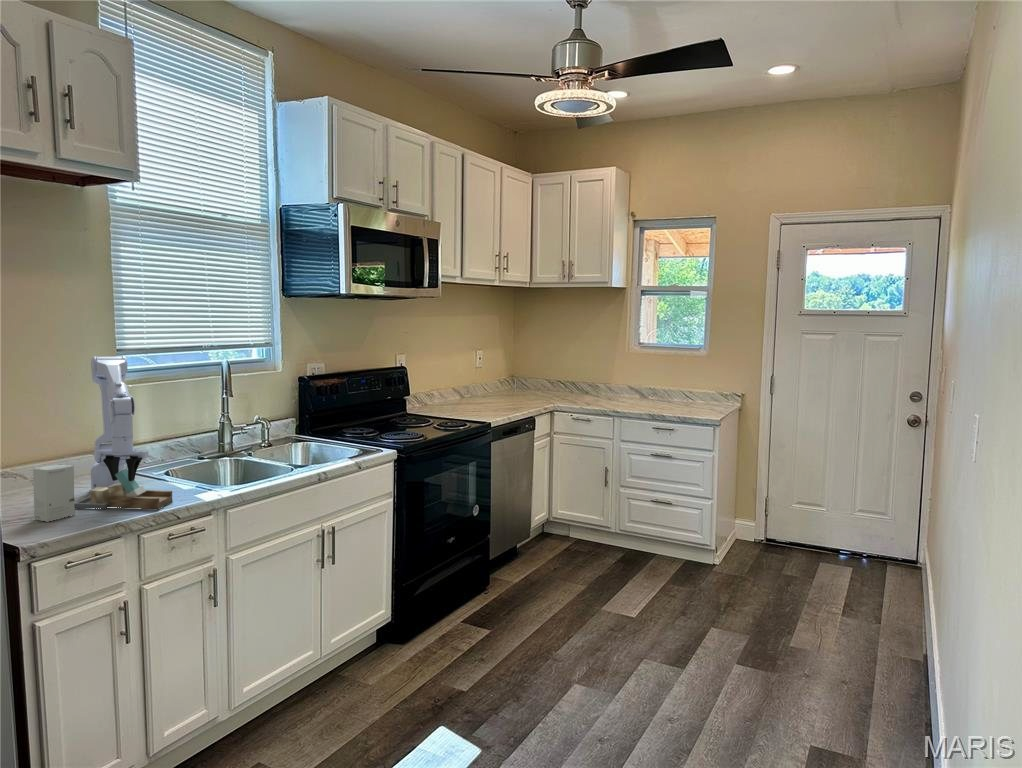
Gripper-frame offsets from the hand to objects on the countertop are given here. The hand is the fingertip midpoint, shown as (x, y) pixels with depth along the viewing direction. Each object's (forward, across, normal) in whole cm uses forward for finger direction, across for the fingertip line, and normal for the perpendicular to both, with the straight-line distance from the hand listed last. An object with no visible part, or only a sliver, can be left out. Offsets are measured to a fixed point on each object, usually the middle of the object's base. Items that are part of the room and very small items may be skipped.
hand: (123, 480), depth 211 cm
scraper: (+5, +4, 0) cm, 6 cm away
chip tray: (+8, -7, 0) cm, 10 cm away
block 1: (+5, -5, 0) cm, 7 cm away
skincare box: (+8, -12, -15) cm, 20 cm away
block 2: (+5, -1, 0) cm, 5 cm away
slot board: (+8, +5, 0) cm, 9 cm away
